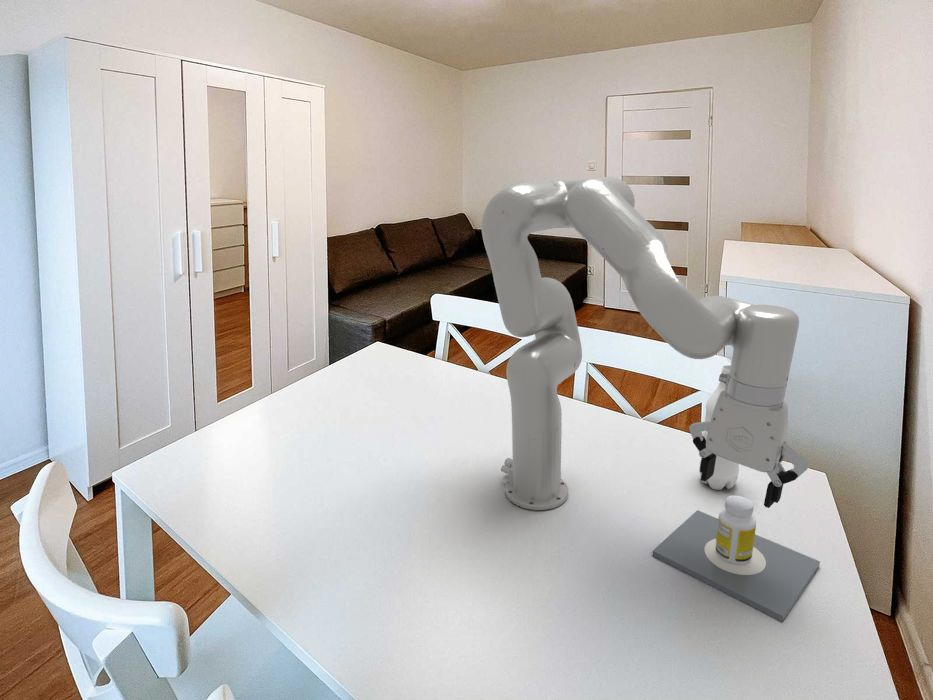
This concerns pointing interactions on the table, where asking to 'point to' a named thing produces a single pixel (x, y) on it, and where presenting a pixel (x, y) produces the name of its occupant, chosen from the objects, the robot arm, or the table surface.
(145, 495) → the table surface
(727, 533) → the supplement bottle
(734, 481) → the water bottle
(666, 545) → the slate board
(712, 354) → the robot arm
